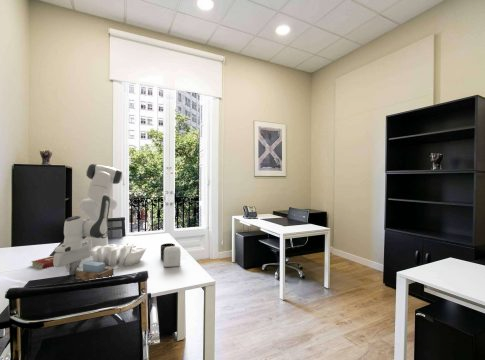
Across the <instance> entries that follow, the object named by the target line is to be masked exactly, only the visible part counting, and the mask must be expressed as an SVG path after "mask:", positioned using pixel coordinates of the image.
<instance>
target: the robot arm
mask: <svg viewBox="0 0 485 360" xmlns="http://www.w3.org/2000/svg"><path fill="white" fill-rule="evenodd" d="M85 174H86V176H87V178H88V179H90V180H91V181H90V184H89V186H88V189H87V196H88V198H84V199H81V200H80V202H79V203H78V209H79V211H80V212H81V213H83V214H84V215H86V216H87V218H88V219H84V218H83V217H81V216H80V215H79V216H78V215H76V216H75V215H74V216H70V217H67V218H66V219H65V221H64V226H63V236H64V239H63V242H62V243H61V244H59V245H58V246H56V247H54V249H53V250H54V252H55V253H54V254H53V256H54V258H53V265H54V266H53V267H55V268H61V267H63V266H64V267H65V268H66V272H69V271H71V268H70V267H69V265H70V263H73V262H76V261H77V269H79V268H80V265H81V263H82V260H84V259H87V258H89V257H90V256H92V255H91V252H90V250H91V249H92V248H94V247H96V246H102V247H103V246H106V245H110V244H109V238H108V228H109V226H108V223H109V222H108V220H109V213H110V212H111V211H114V210H115V209H116V208H117V206H118V202H117V199H116V198H115V197H113V196H112V193H111V192H112V187H113V185H117V184H120V182H121V181H122V180H123V178H124V177H123V172H122V170H121V169H119V168H117V169H116V168H115V167H111V166H106V165H101V164H96V163H91V164H89V165H88V167H87V168H86V171H85ZM83 237H85V238H83Z"/></svg>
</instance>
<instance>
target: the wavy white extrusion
mask: <svg viewBox="0 0 485 360" xmlns="http://www.w3.org/2000/svg"><path fill="white" fill-rule="evenodd" d="M134 245H135V243H134V242H129V243H126V245H123V244H121V245H119V244H118V245H117V244H116V243H111V244H109V245H106V246H103V247H102V246H96V247H94V248H92V249H91V250H90V252H91V255H90V256H91V257H92V259H93V260H92V261H93V262H101V263H105V266H107V265H108V266H107V267H116V266H118V267H123V266H124V267H129V266H133V265H136V264H138V263H140V261H141V259H142V257H143V256H144V254H145V252H146V250H147V247H145V246H137V247H134Z"/></svg>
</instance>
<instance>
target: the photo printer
mask: <svg viewBox="0 0 485 360" xmlns="http://www.w3.org/2000/svg"><path fill="white" fill-rule="evenodd" d="M180 266H181V248H180V246H176V245H175V246H170V247H166V248H165V249H164V260H163V267H164V268H167V267H169V268H170V267H171V268H172V267H180Z"/></svg>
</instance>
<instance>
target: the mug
mask: <svg viewBox="0 0 485 360" xmlns="http://www.w3.org/2000/svg"><path fill="white" fill-rule="evenodd" d="M170 246H176V244H175V243H170V242H169V243H163V244H160V260H163V261H164V249H165V248H166V247H170Z"/></svg>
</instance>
